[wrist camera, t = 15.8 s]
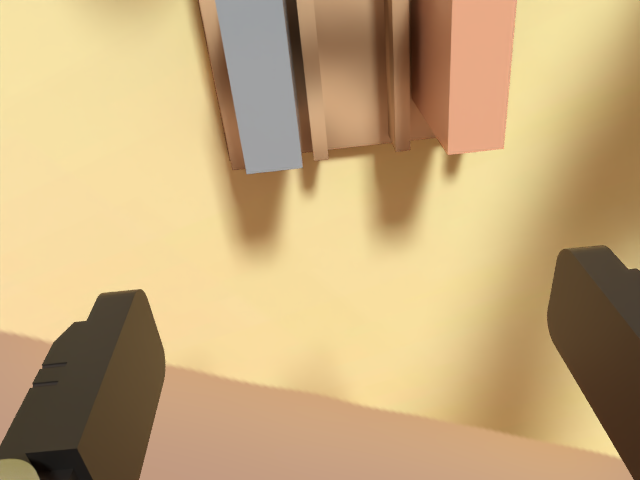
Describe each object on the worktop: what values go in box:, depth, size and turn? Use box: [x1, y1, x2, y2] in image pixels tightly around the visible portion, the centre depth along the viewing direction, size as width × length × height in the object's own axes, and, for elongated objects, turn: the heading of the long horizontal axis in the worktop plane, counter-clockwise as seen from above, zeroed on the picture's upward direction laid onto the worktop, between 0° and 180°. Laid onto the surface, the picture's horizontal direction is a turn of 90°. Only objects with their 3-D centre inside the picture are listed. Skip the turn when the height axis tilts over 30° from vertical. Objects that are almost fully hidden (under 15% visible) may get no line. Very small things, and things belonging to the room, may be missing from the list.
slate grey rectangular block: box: [215, 0, 303, 174], centre depth 26 cm, size 8×2×8 cm, turn 6°
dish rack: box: [198, 0, 437, 170], centre depth 28 cm, size 13×15×4 cm
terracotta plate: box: [411, 0, 517, 155], centre depth 26 cm, size 8×2×8 cm, turn 6°
